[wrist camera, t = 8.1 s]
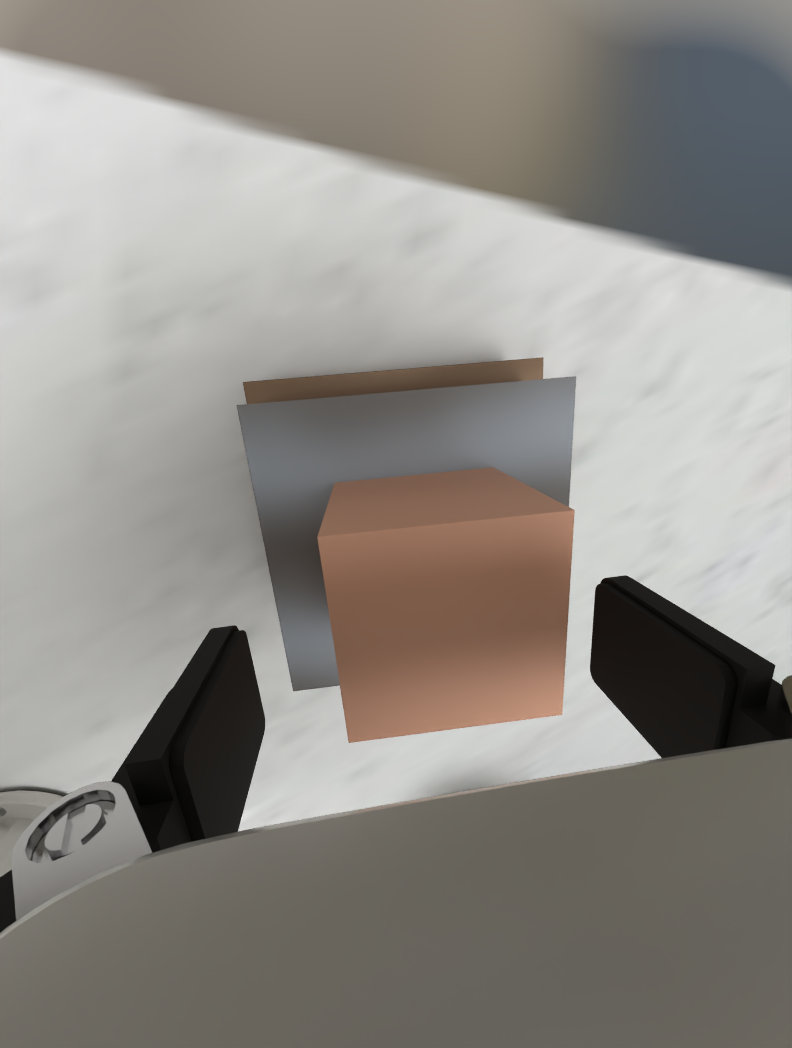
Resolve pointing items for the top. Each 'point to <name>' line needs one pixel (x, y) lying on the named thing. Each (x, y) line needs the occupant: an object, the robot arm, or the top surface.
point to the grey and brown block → (385, 461)
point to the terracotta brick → (446, 600)
